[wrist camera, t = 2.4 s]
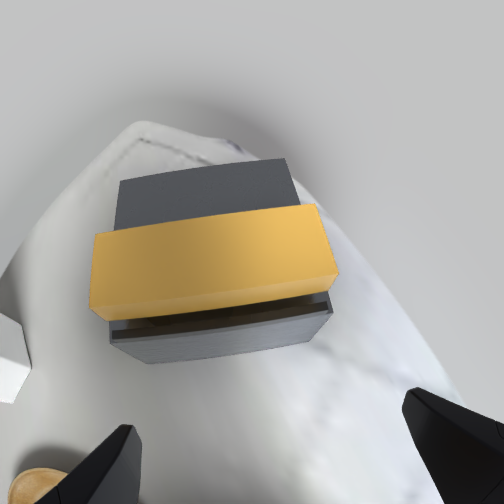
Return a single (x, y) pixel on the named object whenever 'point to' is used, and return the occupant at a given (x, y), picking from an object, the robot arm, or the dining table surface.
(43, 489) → the plant saucer
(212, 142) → the dining table surface
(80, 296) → the dining table surface
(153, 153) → the dining table surface
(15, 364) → the jar
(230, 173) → the box
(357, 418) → the dining table surface
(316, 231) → the key
